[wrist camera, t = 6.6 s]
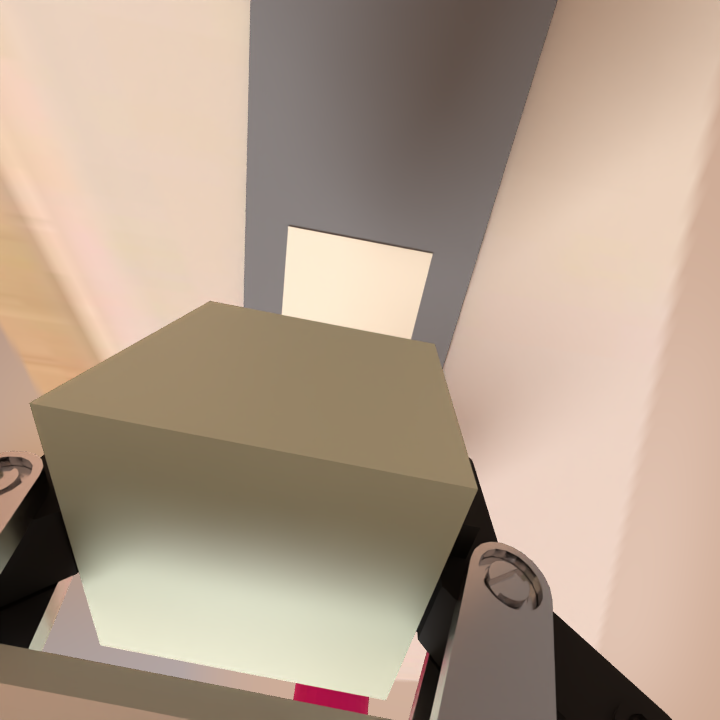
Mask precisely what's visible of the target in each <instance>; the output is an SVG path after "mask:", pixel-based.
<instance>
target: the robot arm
mask: <svg viewBox="0 0 720 720" xmlns="http://www.w3.org/2000/svg"><path fill="white" fill-rule="evenodd" d="M469 461H470V464H471V467H472V471H473V474H474V477H475V481H476V484H477V487H478V490H477V492H476V495H475V497H474V499H473V502H472V504H471V506H470V509H469V511H468V513H467V515H466V518H465V520H464V522H463V525H462V527H461V529H460V531H459V534H458V536H457V538H456V541H455V543H454V545H453V548H452V550H451V552H450V554H449V557H448V559H447V561H446V564H445V566H444V568H443V570H442V573H441V575H440V577H439V580H438V582H437V584H436V586H435V589H434V591H433V593H432V596H431V598H430V600H429V603H428V605H427V607H426V609H425V612H424V614H423V616H422V619H421V621H420V623H419V625H418V628H417V630H416V632H417V633H418V640H419V641H420V643H421V644H422V645H423V647H424V648H425V649H426V650H427V653H426V656H425V660H424V664H423V668H422V671H421V675H420V679H419V683H418V687H417V690H416V694H415V698H414V702H413V705H412V709H411V713H410V717H409V720H672V719H671V718H670V717H669V716H668V715H667V714H666V713H665V712H664V711H663V710H662V709H661V708H659V707H658V706H657V705H656V704H655V703H654V702H653V701H652V700H651V699H649V698H648V697H647V696H646V695H645V694H644V693H643V692H641V690H639V689H638V688H637V687H636V686H635V685H634V684H633V683H632V682H631V681H629V680H628V679H627V678H626V677H625V676H624V675H623V674H622V673H621V672H619V671H618V670H617V669H616V668H615V667H614V666H613V665H612V664H611V663H610V662H608V661H607V660H606V659H605V658H604V657H603V656H602V655H601V654H600V653H598V652H597V651H596V650H595V649H594V648H593V647H592V646H591V645H590V644H588V643H587V642H586V641H585V640H584V639H583V638H582V637H581V636H580V635H578V634H577V633H576V632H575V631H574V630H573V629H572V628H571V627H570V626H568V625H567V624H566V623H565V622H564V621H563V620H562V619H561V618H560V617H559V616H557V615H556V614H555V613H554V612H553V603H552V596H551V591H550V587H549V585H548V583H547V581H546V579H545V577H544V575H543V574H542V572H541V571H540V570H539V569H538V567H537V566H536V565H535V564H534V563H533V562H532V561H531V560H530V559H529V558H528V557H527V556H526V555H524V554H523V553H521V552H520V551H518V550H517V549H515V548H513V547H511V546H508V545H506V544H503V543H498V541H497V538H496V535H495V532H494V529H493V525H492V522H491V519H490V516H489V512H488V509H487V506H486V503H485V500H484V496H483V493H482V490H481V487H480V484H479V480H478V477H477V474H476V471H475V467H474V464H473V462H472V460H471V459H470V458H469ZM78 572H79V571H78V567H77V564H76V560H75V557H74V554H73V550H72V547H71V543H70V540H69V537H68V533H67V530H66V526H65V523H64V520H63V516H62V513H61V509H60V506H59V502H58V499H57V496H56V492H55V489H54V485H53V482H52V479H51V475H50V472H49V468H48V465H47V462H46V458H45V455H43V456H42V457H40V458H39V457H38V456H37V455H36V454H32V453H29V452H22V451H10V452H2V453H0V720H391V719H386V718H381V717H376V716H371V715H366V714H361V713H356V712H351V711H346V710H341V709H336V708H331V707H326V706H320V705H315V704H310V703H305V702H300V701H295V700H290V699H285V698H280V697H275V696H270V695H265V694H260V693H255V692H250V691H245V690H240V689H234V688H229V687H224V686H219V685H214V684H209V683H203V682H198V681H193V680H188V679H182V678H177V677H173V676H167V675H162V674H157V673H151V672H147V671H141V670H136V669H131V668H126V667H121V666H115V665H110V664H105V663H99V662H94V661H89V660H84V659H79V658H73V657H68V656H63V655H57V654H53V653H47V652H42V650H43V647H44V645H45V643H46V640H47V638H48V636H49V633H50V631H51V628H52V626H53V624H54V621H55V619H56V616H57V614H58V612H59V609H60V607H61V605H62V602H63V600H64V597H65V595H66V592H67V590H68V588H69V585H70V583H71V581H72V577H73V575H75V574H77V573H78Z"/></svg>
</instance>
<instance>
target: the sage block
mask: <svg viewBox="0 0 720 720" xmlns="http://www.w3.org/2000/svg"><path fill="white" fill-rule="evenodd" d="M30 407H31V410H32V414H33V417H34V421H35V424H36V427H37V431H38V434H39V437H40V441H41V444H42V448H43V451H44V455H45V458H46V462H47V465H48V468H49V472H50V475H51V479H52V482H53V485H54V489H55V492H56V496H57V499H58V502H59V506H60V509H61V513H62V516H63V520H64V523H65V526H66V530H67V533H68V537H69V540H70V543H71V547H72V550H73V554H74V557H75V560H76V564H77V567H78V571H79V574H80V578H81V581H82V584H83V588H84V591H85V595H86V598H87V601H88V605H89V608H90V611H91V615H92V618H93V622H94V625H95V629H96V632H97V636H98V639H99V642H100V645H102V646H108V647H112V648H118V649H123V650H128V651H133V652H138V653H144V654H149V655H154V656H159V657H164V658H169V659H175V660H180V661H185V662H190V663H195V664H201V665H206V666H211V667H216V668H221V669H227V670H232V671H237V672H242V673H247V674H252V675H258V676H263V677H268V678H273V679H279V680H284V681H289V682H294V683H299V684H304V685H310V686H315V687H320V688H325V689H330V690H335V691H341V692H346V693H351V694H356V695H361V696H367V697H372V698H377V699H382V700H386V699H387V697H388V694H389V692H390V690H391V687H392V685H393V683H394V681H395V678H396V676H397V674H398V671H399V669H400V667H401V664H402V662H403V660H404V658H405V655H406V653H407V651H408V648H409V646H410V644H411V642H412V639H413V637H414V635H415V632H416V630H417V628H418V625H419V623H420V621H421V619H422V616H423V614H424V612H425V609H426V607H427V605H428V603H429V600H430V598H431V596H432V593H433V591H434V589H435V586H436V584H437V582H438V580H439V577H440V575H441V573H442V570H443V568H444V566H445V564H446V561H447V559H448V557H449V554H450V552H451V550H452V548H453V545H454V543H455V541H456V538H457V536H458V534H459V531H460V529H461V527H462V525H463V522H464V520H465V518H466V515H467V513H468V511H469V509H470V506H471V504H472V502H473V499H474V497H475V495H476V492H477V490H478V487H477V484H476V481H475V477H474V474H473V471H472V467H471V464H470V461H469V457H468V454H467V451H466V447H465V444H464V440H463V437H462V434H461V430H460V427H459V424H458V420H457V417H456V414H455V410H454V407H453V404H452V400H451V397H450V394H449V390H448V387H447V383H446V380H445V377H444V373H443V370H442V367H441V363H440V360H439V357H438V353H437V350H436V347H435V344H432V343H427V342H422V341H417V340H411V339H406V338H401V337H396V336H390V335H385V334H380V333H375V332H369V331H364V330H359V329H354V328H349V327H343V326H338V325H333V324H328V323H322V322H317V321H312V320H307V319H301V318H296V317H291V316H286V315H281V314H275V313H270V312H265V311H260V310H254V309H249V308H244V307H239V306H233V305H228V304H223V303H218V302H213V301H209V302H207V303H206V304H204V305H202V306H200V307H199V308H197V309H195V310H193V311H192V312H190V313H188V314H186V315H184V316H183V317H181V318H179V319H177V320H176V321H174V322H172V323H170V324H168V325H167V326H165V327H163V328H161V329H160V330H158V331H156V332H154V333H153V334H151V335H149V336H147V337H145V338H144V339H142V340H140V341H138V342H137V343H135V344H133V345H131V346H129V347H128V348H126V349H124V350H122V351H121V352H119V353H117V354H115V355H114V356H112V357H110V358H108V359H106V360H105V361H103V362H101V363H99V364H98V365H96V366H94V367H92V368H90V369H89V370H87V371H85V372H83V373H82V374H80V375H78V376H76V377H75V378H73V379H71V380H69V381H67V382H66V383H64V384H62V385H60V386H59V387H57V388H55V389H53V390H52V391H50V392H48V393H46V394H44V395H43V396H41V397H39V398H37V399H36V400H34V401H32V402H31V403H30Z"/></svg>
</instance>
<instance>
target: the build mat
mask: <svg viewBox="0 0 720 720" xmlns="http://www.w3.org/2000/svg"><path fill="white" fill-rule="evenodd" d="M556 3H557V0H251V4H250V49H249V93H248V138H247V182H246V227H245V271H244V308H249V309H254V310H260V311H265V312H270V313H275V314H281V315H286V316H291V317H296V318H301V319H307V320H312V321H317V322H322V323H328V324H333V325H338V326H343V327H349V328H354V329H359V330H364V331H369V332H375V333H380V334H385V335H390V336H396V337H401V338H406V339H411V340H417V341H422V342H427V343H432V344H435V347H436V350H437V353H438V357H439V360H440V363H441V367H442V368H443V365H444V362H445V359H446V356H447V352H448V349H449V346H450V343H451V340H452V336H453V333H454V330H455V327H456V324H457V320H458V317H459V314H460V311H461V308H462V304H463V301H464V298H465V295H466V292H467V288H468V285H469V282H470V279H471V276H472V272H473V269H474V266H475V263H476V260H477V256H478V253H479V250H480V247H481V244H482V240H483V237H484V234H485V231H486V228H487V224H488V221H489V218H490V215H491V212H492V208H493V205H494V202H495V199H496V196H497V192H498V189H499V186H500V183H501V180H502V176H503V173H504V170H505V167H506V164H507V160H508V157H509V154H510V151H511V148H512V144H513V141H514V138H515V135H516V131H517V128H518V125H519V122H520V119H521V115H522V112H523V109H524V106H525V103H526V99H527V96H528V93H529V90H530V87H531V83H532V80H533V77H534V74H535V71H536V67H537V64H538V61H539V58H540V55H541V51H542V48H543V45H544V42H545V39H546V35H547V32H548V29H549V26H550V23H551V19H552V16H553V13H554V10H555V7H556Z"/></svg>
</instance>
